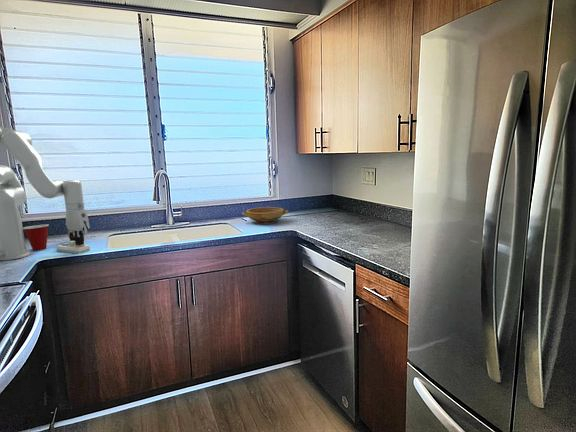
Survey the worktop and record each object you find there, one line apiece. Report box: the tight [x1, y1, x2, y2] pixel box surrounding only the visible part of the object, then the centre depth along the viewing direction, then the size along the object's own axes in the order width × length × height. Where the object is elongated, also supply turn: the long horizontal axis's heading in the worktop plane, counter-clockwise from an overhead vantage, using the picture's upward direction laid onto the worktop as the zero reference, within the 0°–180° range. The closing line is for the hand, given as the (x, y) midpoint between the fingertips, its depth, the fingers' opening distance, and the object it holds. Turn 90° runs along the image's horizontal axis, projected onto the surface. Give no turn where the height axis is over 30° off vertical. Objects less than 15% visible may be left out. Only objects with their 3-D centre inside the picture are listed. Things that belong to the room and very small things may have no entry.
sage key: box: [67, 240, 76, 246], centre depth 177 cm, size 2×3×2 cm
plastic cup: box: [23, 223, 50, 251], centre depth 182 cm, size 11×11×12 cm
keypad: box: [56, 244, 91, 254], centre depth 178 cm, size 6×15×2 cm, turn 68°
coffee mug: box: [65, 224, 85, 241], centre depth 194 cm, size 12×9×10 cm
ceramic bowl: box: [241, 206, 289, 225], centre depth 235 cm, size 30×24×8 cm
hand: (79, 244), depth 176 cm, fingers closed
